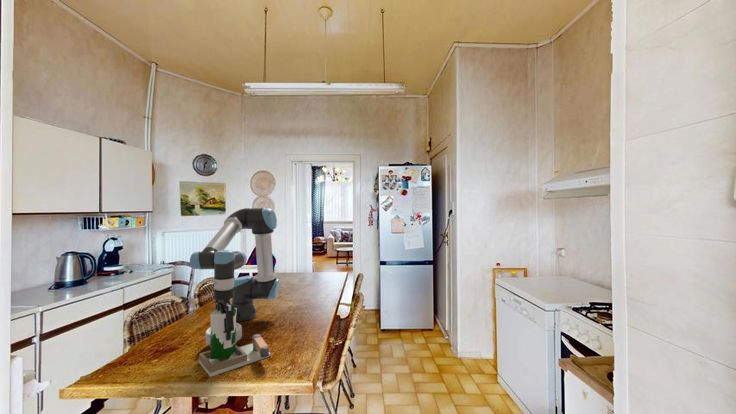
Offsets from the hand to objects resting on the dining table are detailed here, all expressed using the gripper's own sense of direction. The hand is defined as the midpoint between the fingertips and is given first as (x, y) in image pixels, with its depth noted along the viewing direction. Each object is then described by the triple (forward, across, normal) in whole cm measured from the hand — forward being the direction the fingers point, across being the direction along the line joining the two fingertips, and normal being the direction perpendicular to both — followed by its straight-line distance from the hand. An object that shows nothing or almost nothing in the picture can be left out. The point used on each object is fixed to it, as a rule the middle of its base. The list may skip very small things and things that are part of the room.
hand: (223, 343), depth 124 cm
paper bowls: (+8, -17, +6) cm, 20 cm away
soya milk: (+5, 0, 0) cm, 5 cm away
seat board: (+8, 0, +5) cm, 9 cm away
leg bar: (+4, +7, +13) cm, 15 cm away
